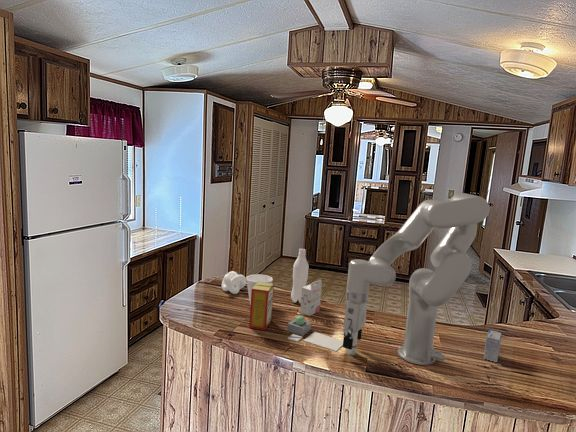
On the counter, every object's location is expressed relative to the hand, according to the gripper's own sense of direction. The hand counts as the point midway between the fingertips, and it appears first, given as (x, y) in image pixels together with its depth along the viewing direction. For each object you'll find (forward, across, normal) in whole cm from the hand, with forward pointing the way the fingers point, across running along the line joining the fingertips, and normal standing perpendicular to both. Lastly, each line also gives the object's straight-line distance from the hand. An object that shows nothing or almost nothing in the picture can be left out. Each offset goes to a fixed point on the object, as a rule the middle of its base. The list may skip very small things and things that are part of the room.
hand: (351, 343), depth 139 cm
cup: (+4, +16, +50) cm, 53 cm away
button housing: (+4, +4, +23) cm, 24 cm away
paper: (+4, +2, +11) cm, 12 cm away
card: (+4, -2, +21) cm, 21 cm away
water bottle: (+4, +32, +38) cm, 50 cm away
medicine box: (+4, +29, -43) cm, 52 cm away
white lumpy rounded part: (+4, +23, +70) cm, 74 cm away
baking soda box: (+4, 0, +38) cm, 38 cm away
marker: (+4, 0, 0) cm, 4 cm away
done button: (+2, +5, +23) cm, 24 cm away
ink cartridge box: (+4, +24, +28) cm, 37 cm away
